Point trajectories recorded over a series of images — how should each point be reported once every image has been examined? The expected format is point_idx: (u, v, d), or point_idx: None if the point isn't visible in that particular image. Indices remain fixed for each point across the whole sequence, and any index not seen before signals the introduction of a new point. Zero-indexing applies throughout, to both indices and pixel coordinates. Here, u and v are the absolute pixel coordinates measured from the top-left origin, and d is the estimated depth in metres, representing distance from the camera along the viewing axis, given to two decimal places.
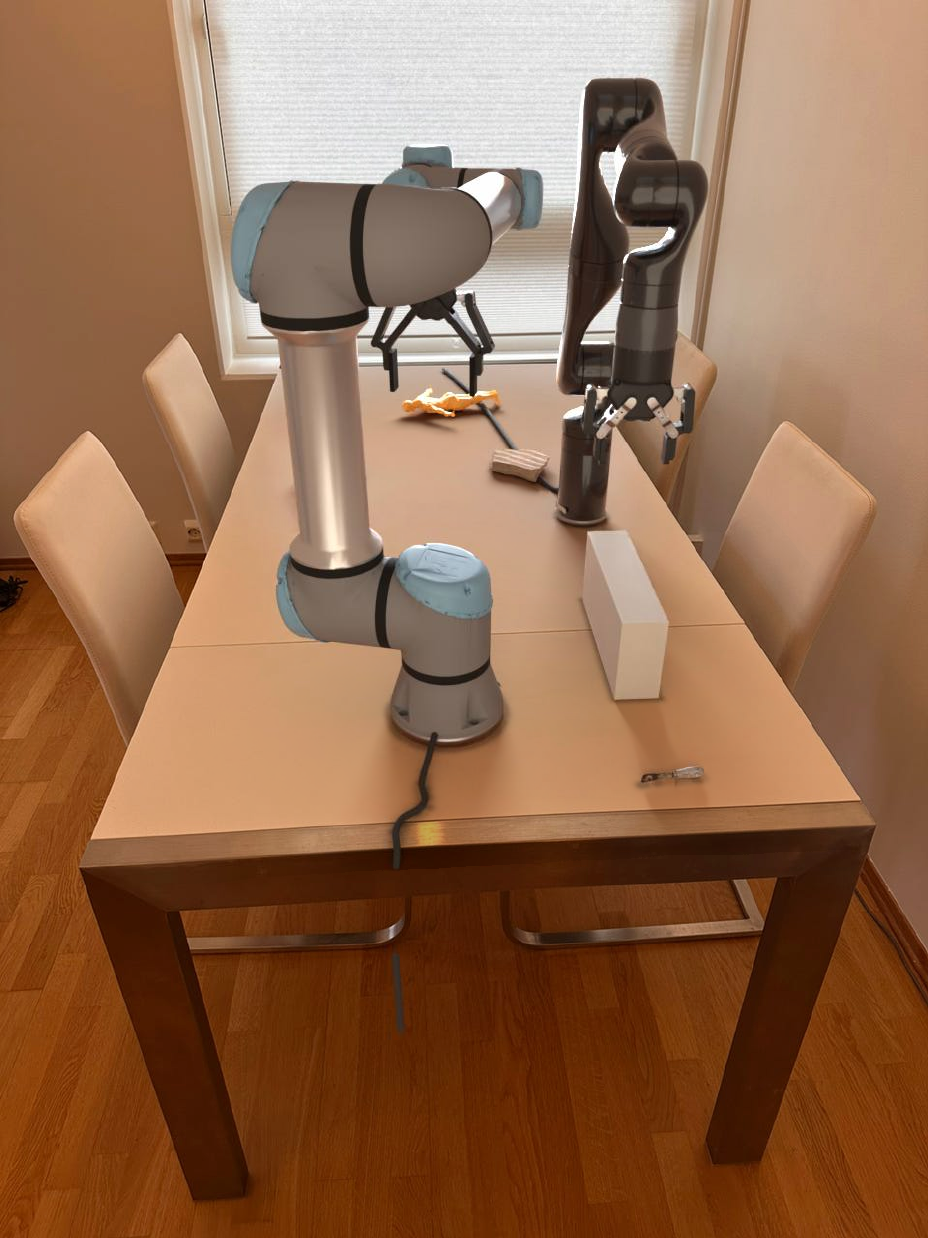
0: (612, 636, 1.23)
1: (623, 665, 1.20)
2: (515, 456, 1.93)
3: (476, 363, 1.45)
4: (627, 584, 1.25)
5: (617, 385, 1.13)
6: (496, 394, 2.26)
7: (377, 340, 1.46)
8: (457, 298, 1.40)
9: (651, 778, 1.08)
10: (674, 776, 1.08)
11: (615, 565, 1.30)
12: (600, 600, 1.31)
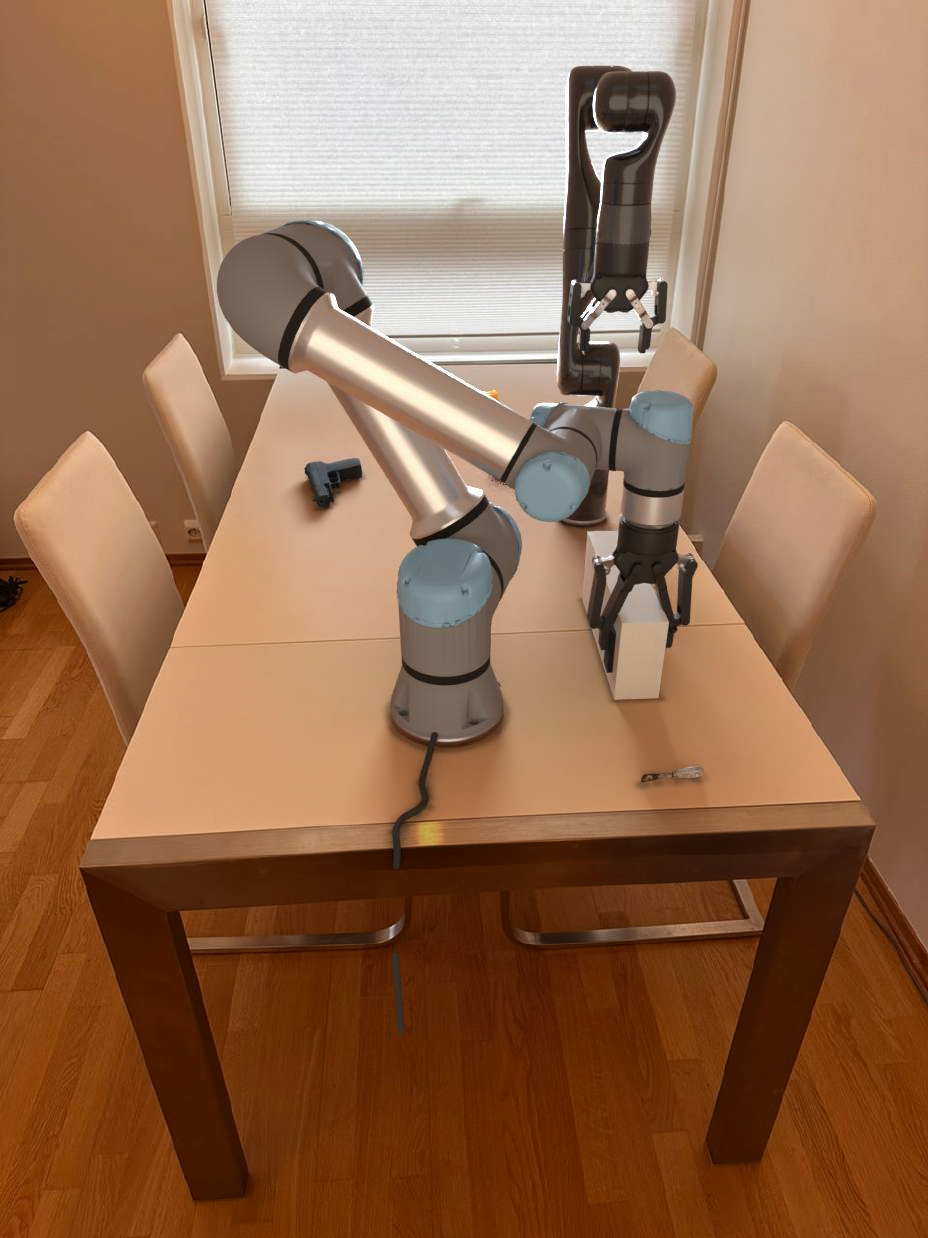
0: None
1: (623, 665, 1.20)
2: None
3: (667, 636, 1.22)
4: None
5: (599, 279, 1.28)
6: (496, 394, 2.26)
7: (597, 620, 1.19)
8: (677, 561, 1.16)
9: (651, 778, 1.08)
10: (674, 776, 1.08)
11: None
12: None
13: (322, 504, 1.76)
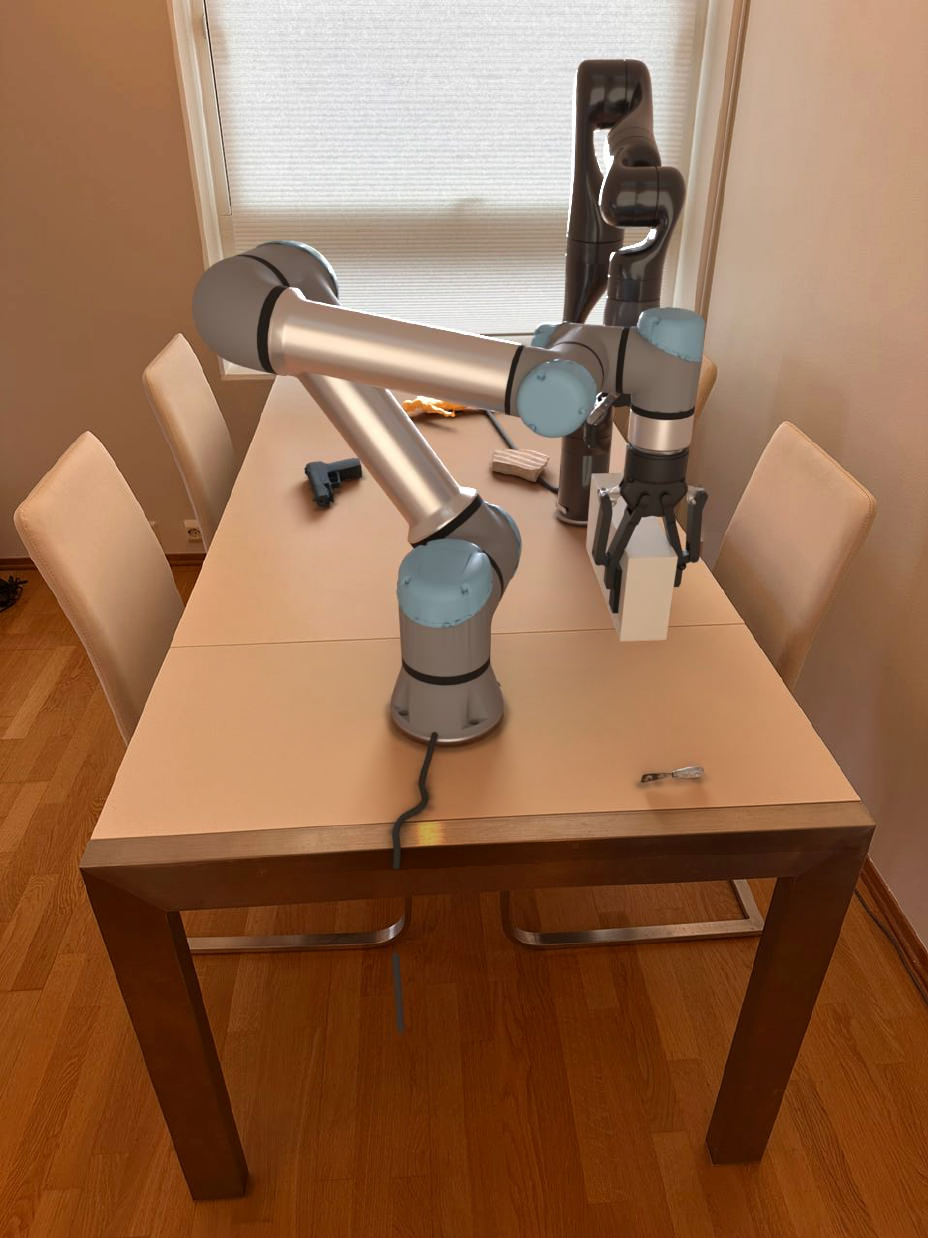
0: None
1: (629, 604, 1.15)
2: (515, 456, 1.93)
3: (675, 574, 1.17)
4: None
5: None
6: None
7: (602, 556, 1.14)
8: (687, 493, 1.11)
9: (651, 778, 1.08)
10: (674, 776, 1.08)
11: (621, 504, 1.25)
12: None
13: (322, 504, 1.76)
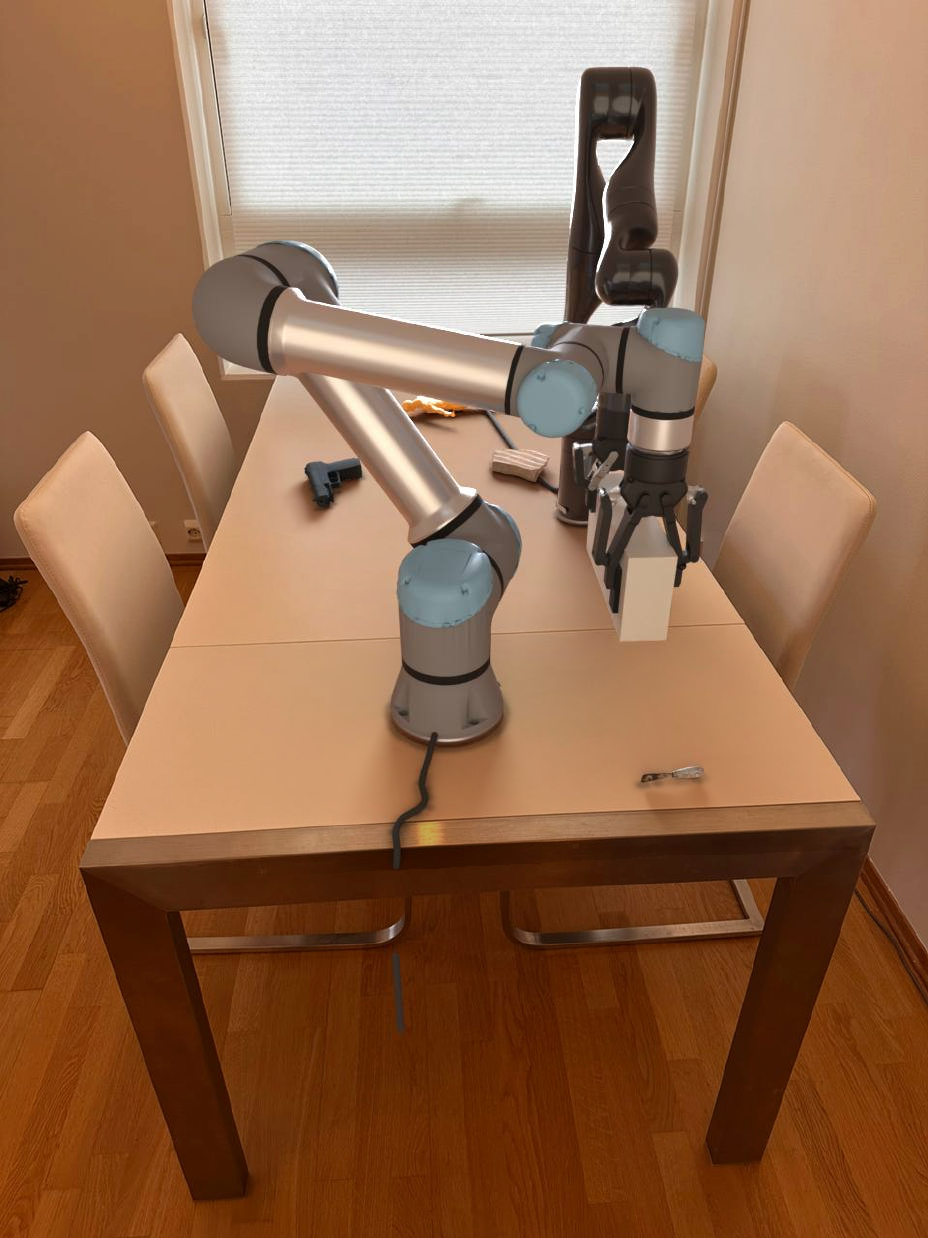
0: None
1: (629, 604, 1.15)
2: (515, 456, 1.93)
3: (675, 574, 1.17)
4: None
5: (601, 440, 1.27)
6: None
7: (602, 556, 1.14)
8: (687, 493, 1.11)
9: (651, 778, 1.08)
10: (674, 776, 1.08)
11: (621, 504, 1.25)
12: None
13: (322, 504, 1.76)
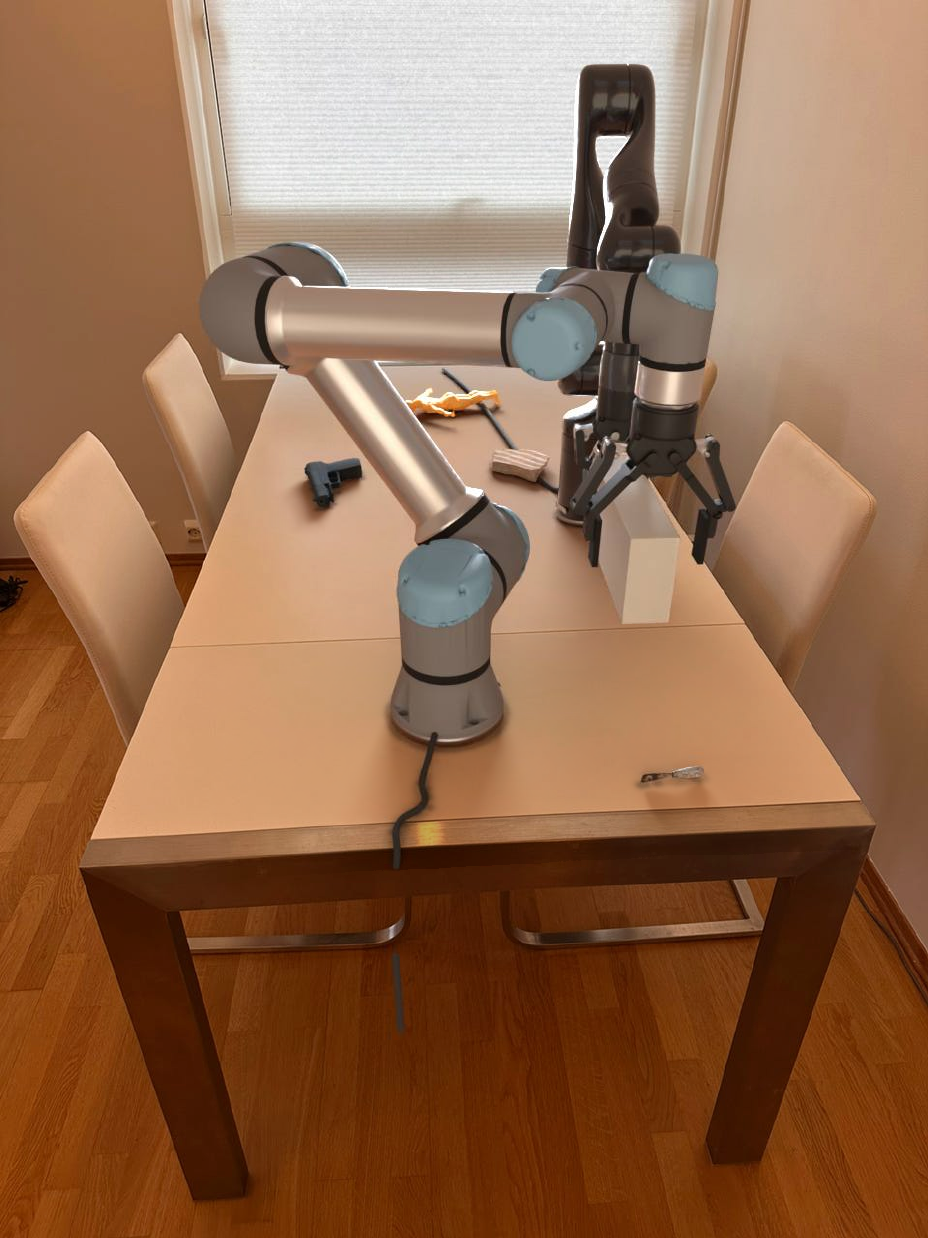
0: (620, 557, 1.17)
1: (631, 586, 1.14)
2: (515, 456, 1.93)
3: (710, 524, 1.11)
4: (635, 503, 1.19)
5: (602, 421, 1.25)
6: (496, 394, 2.26)
7: (583, 506, 1.08)
8: (697, 448, 1.06)
9: (651, 778, 1.08)
10: (674, 776, 1.08)
11: None
12: (607, 523, 1.24)
13: (322, 504, 1.76)
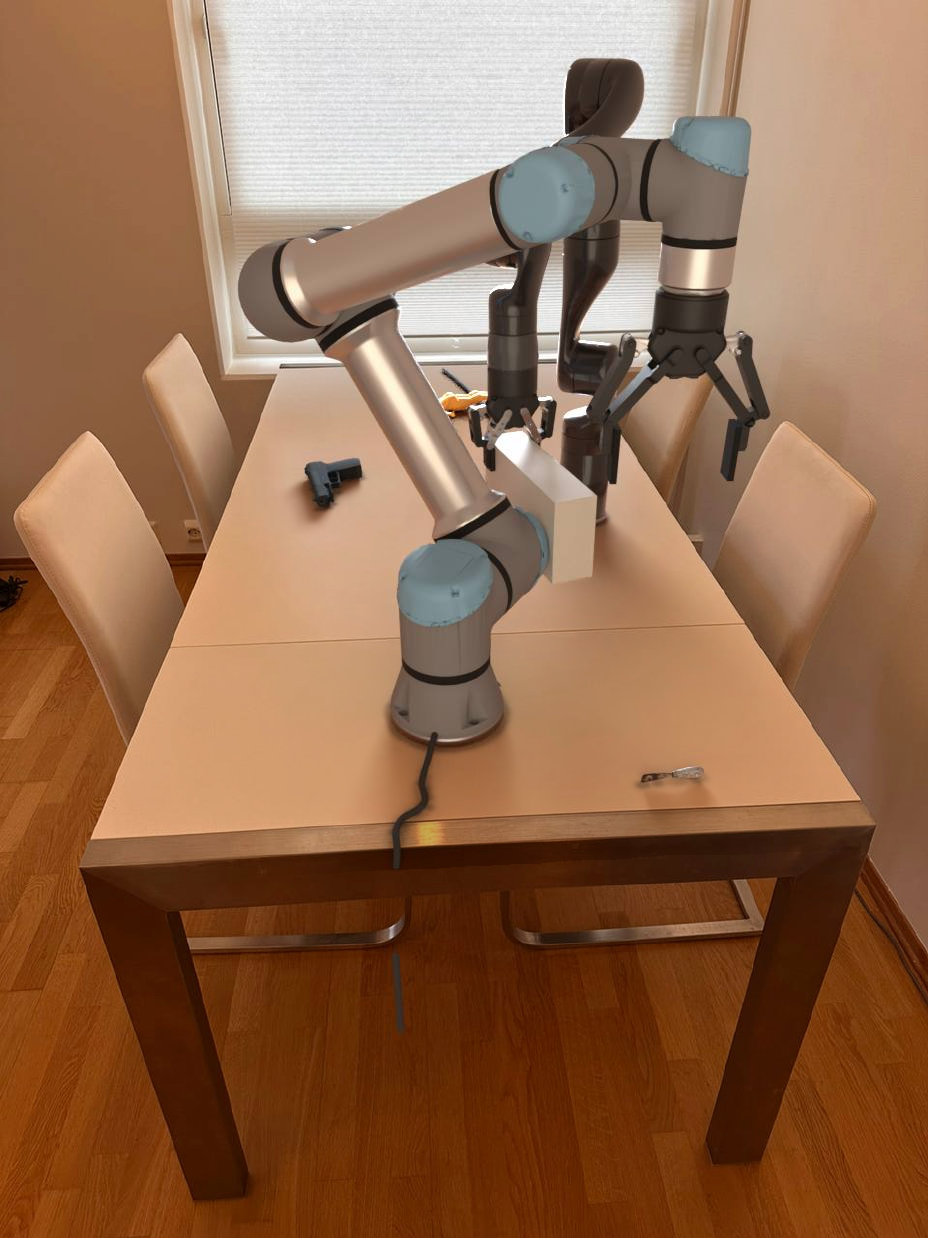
0: (541, 522, 1.25)
1: (558, 547, 1.23)
2: None
3: (741, 434, 1.00)
4: (543, 472, 1.28)
5: (494, 401, 1.33)
6: None
7: (600, 413, 0.98)
8: (727, 345, 0.95)
9: (651, 778, 1.08)
10: (674, 776, 1.08)
11: (525, 459, 1.32)
12: (516, 495, 1.32)
13: (322, 504, 1.76)
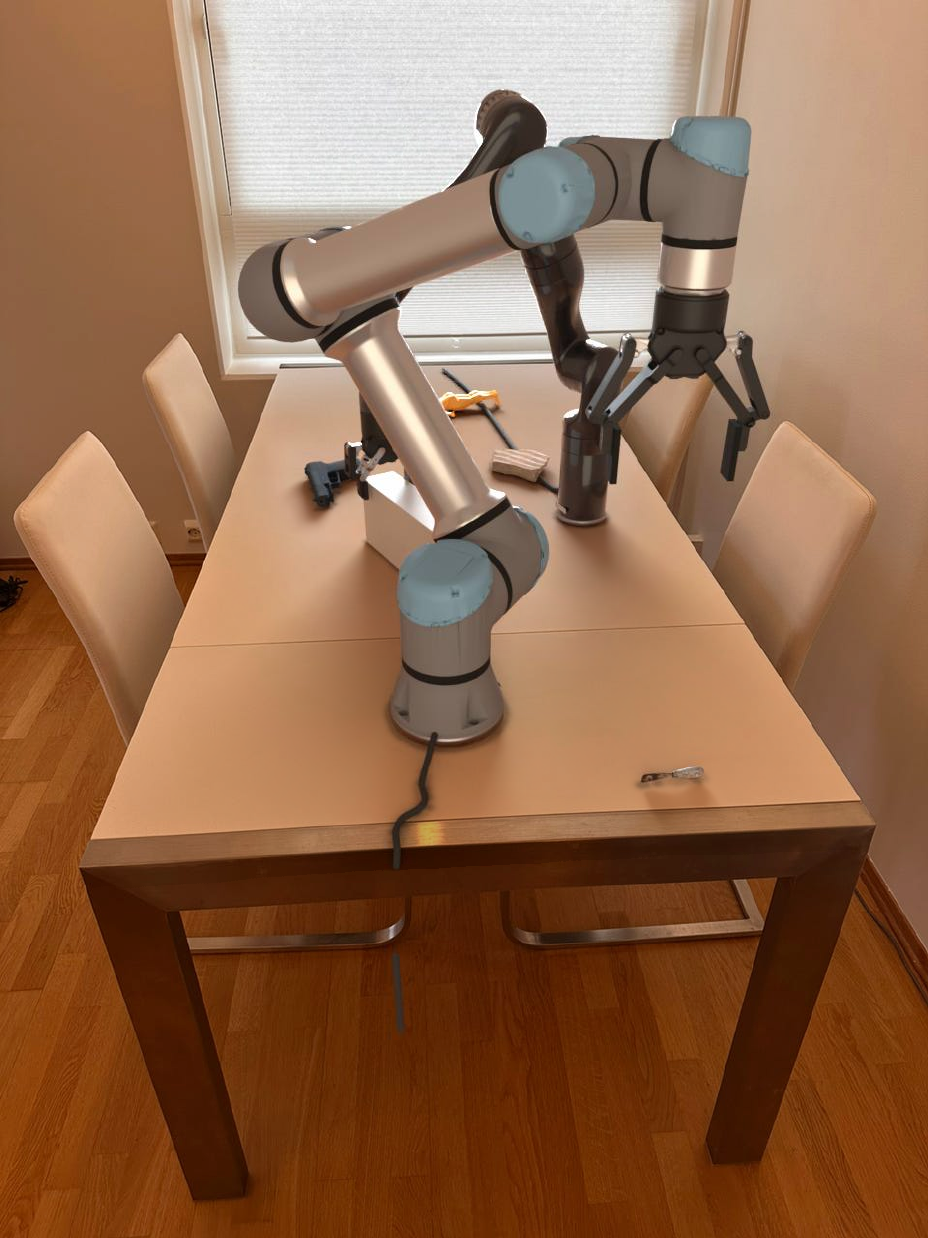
0: None
1: None
2: (515, 456, 1.93)
3: (741, 435, 1.00)
4: (421, 508, 1.47)
5: (369, 440, 1.50)
6: (496, 394, 2.26)
7: (600, 413, 0.98)
8: (727, 345, 0.95)
9: (651, 778, 1.08)
10: (674, 776, 1.08)
11: (403, 497, 1.51)
12: (398, 530, 1.51)
13: (322, 504, 1.76)
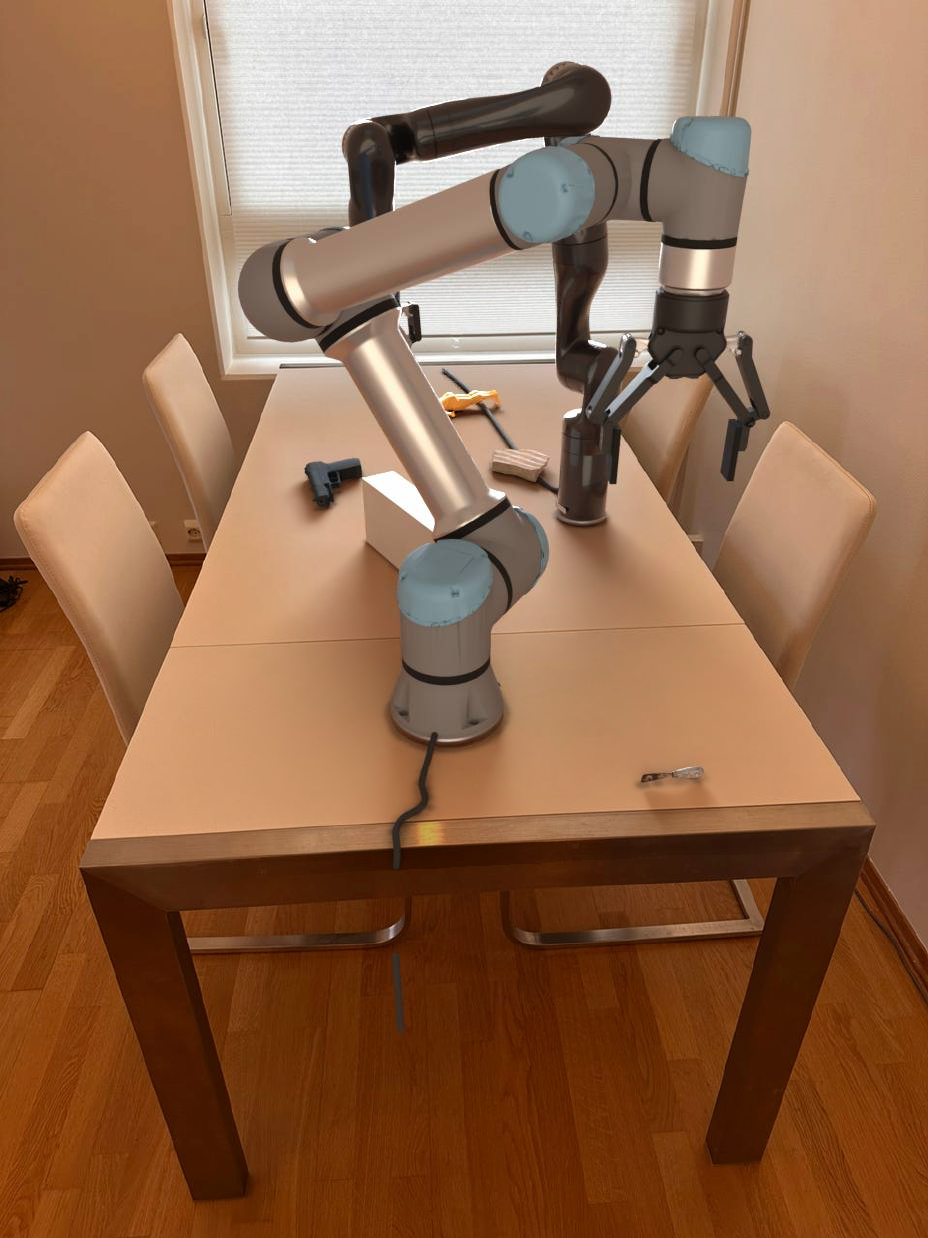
0: None
1: None
2: (515, 456, 1.93)
3: (741, 435, 1.00)
4: (421, 508, 1.47)
5: None
6: (496, 394, 2.26)
7: (600, 413, 0.98)
8: (727, 345, 0.95)
9: (651, 778, 1.08)
10: (674, 776, 1.08)
11: (403, 497, 1.51)
12: (398, 530, 1.51)
13: (322, 504, 1.76)
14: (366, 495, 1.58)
